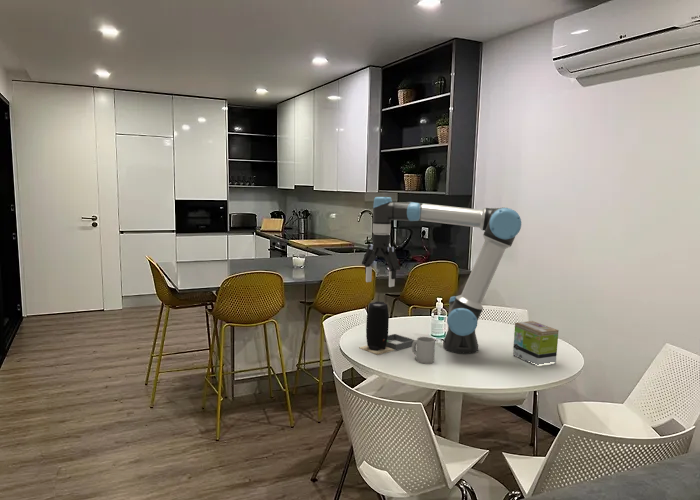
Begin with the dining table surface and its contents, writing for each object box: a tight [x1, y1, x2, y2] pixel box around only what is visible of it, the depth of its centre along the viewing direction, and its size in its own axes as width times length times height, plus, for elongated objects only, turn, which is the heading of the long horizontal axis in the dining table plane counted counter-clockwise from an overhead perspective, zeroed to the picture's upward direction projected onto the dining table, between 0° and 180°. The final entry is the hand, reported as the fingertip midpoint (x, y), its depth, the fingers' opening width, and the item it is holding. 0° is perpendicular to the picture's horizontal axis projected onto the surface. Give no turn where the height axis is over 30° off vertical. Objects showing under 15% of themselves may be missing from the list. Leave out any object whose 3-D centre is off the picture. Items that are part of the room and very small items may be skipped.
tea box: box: [512, 320, 559, 365], centre depth 212 cm, size 15×10×15 cm
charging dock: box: [386, 333, 415, 351], centre depth 228 cm, size 12×12×3 cm
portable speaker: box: [365, 301, 390, 351], centre depth 219 cm, size 9×9×20 cm
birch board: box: [358, 344, 395, 356], centre depth 220 cm, size 11×10×1 cm
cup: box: [411, 336, 436, 365], centre depth 208 cm, size 7×10×9 cm
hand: (379, 284), depth 217 cm, fingers open, 13 cm apart
